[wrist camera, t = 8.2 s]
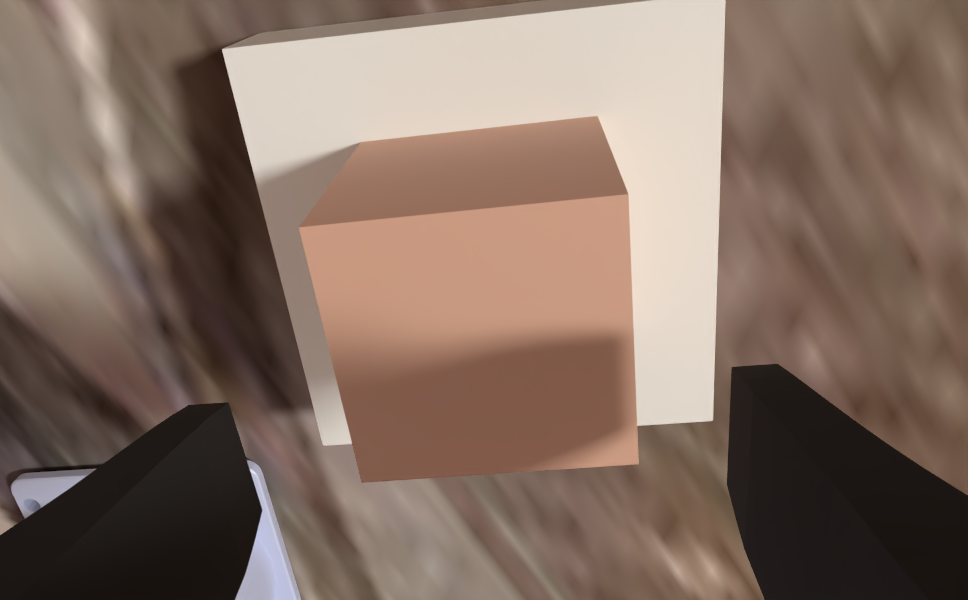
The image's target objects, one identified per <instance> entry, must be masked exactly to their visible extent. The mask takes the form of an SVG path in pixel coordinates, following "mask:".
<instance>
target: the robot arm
mask: <svg viewBox="0 0 968 600" xmlns="http://www.w3.org/2000/svg"><path fill="white" fill-rule="evenodd" d="M727 486H728V490H729V494H730V497H731V501H732V505H733V509H734V513H735V517H736V520H737V524H738V528H739V531H740V535H741V538H742V542H743V546H744V549H745V552H746V554H747V557H748V559H749V562H750V564H751V567H752V569H753V572H754V574H755V577H756V579H757V582H758V584H759V586H760V589H761V591H762V594H763V596H764V599H765V600H968V495H966V494H964V493H963V492H961V491H959V490H958V489H956V488H955V487H953V486H951V485H950V484H948V483H947V482H945V481H943V480H942V479H940V478H939V477H937V476H936V475H934V474H932V473H931V472H929V471H928V470H926V469H924V468H923V467H921V466H920V465H918V464H917V463H915V462H914V461H912V460H911V459H909V458H908V457H906V456H905V455H903V454H902V453H900V452H899V451H897V450H896V449H894V448H893V447H891V446H890V445H888V444H887V443H885V442H884V441H883V440H881V439H880V438H878V437H877V436H875V435H874V434H873V433H871V432H870V431H868V430H867V429H866V428H864V427H863V426H861V425H860V424H859V423H857V422H856V421H854V420H853V419H852V418H850V417H849V416H848V415H846V414H845V413H843V412H842V411H841V410H839V409H838V408H837V407H835V406H834V405H833V404H831V403H830V402H829V401H827V400H826V399H825V398H823V397H822V396H821V395H819V394H818V393H817V392H815V391H814V390H813V389H811V388H810V387H809V386H807V385H806V384H805V383H803V382H802V381H801V380H799V379H798V378H797V377H795V376H794V375H793V374H791V373H790V372H788V371H787V370H786V369H784V368H783V367H781V366H780V365H778V364H769V365H755V366H741V367H732V374H731V399H730V423H729V448H728V472H727ZM11 492H12V494H13V496H14V498H15V500H16V502H17V504H18V506H19V508H20V510H21V512H22V514H23V516H24V518H25V519H24V520H22V521H21V522H19V523H18V524H16V525H15V526H13V527H12V528H10V529H9V530H7V531H6V532H5V533H3V534H2V535H0V600H301V597H300V594H299V591H298V588H297V584H296V581H295V578H294V574H293V571H292V568H291V565H290V561H289V558H288V555H287V552H286V548H285V545H284V542H283V539H282V535H281V532H280V529H279V526H278V522H277V519H276V516H275V512H274V509H273V506H272V503H271V499H270V496H269V493H268V490H267V486H266V483H265V480H264V477H263V473H262V471H261V469H260V467H259V466H258V465H257V464H256V463H254V462H252V461H249V460H247V459H246V456H245V453H244V450H243V447H242V444H241V440H240V437H239V434H238V431H237V428H236V425H235V421H234V418H233V415H232V412H231V409H230V406H229V403H213V404H199V405H188V406H187V407H185V408H183V409H182V410H180V411H178V412H177V413H175V414H173V415H172V416H170V417H169V418H167V419H166V420H164V421H163V422H161V423H160V424H158V425H157V426H156V427H154V428H153V429H151V430H150V431H148V432H147V433H146V434H144V435H143V436H141V437H140V438H139V439H137V440H136V441H134V442H133V443H132V444H130V445H129V446H128V447H126V448H125V449H123V450H122V451H121V452H119V453H118V454H117V455H115V456H114V457H112V458H111V459H110V460H108V461H107V462H105V463H104V464H103V465H101V466H100V467H98V468H97V469H82V470H66V471H50V472H34V473H24V474H21V475H20V476H19V477H17V478H16V480H15V481H14V482H13V483H12V485H11ZM33 499H34V500H35V501H34V500H33ZM36 501H37V502H36Z"/></svg>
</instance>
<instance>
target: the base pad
mask: <svg viewBox="0 0 968 600" xmlns="http://www.w3.org/2000/svg"><path fill="white" fill-rule="evenodd" d="M724 29H725V0H542V1H534V2H525V3H516V4H507V5H499V6H490V7H481V8H473V9H464V10H455V11H446V12H438V13H429V14H420V15H411V16H403V17H394V18H385V19H377V20H368V21H359V22H350V23H342V24H333V25H324V26H316V27H307V28H298V29H289V30H281V31H272V32H263V33H259V34H256V35H254V36H251V37H249V38H247V39H244V40H242V41H240V42H237V43H235V44H233V45H230V46H228V47H225V48H223V49H222V52H223V56H224V60H225V64H226V68H227V71H228V75H229V79H230V83H231V87H232V91H233V95H234V99H235V103H236V107H237V111H238V114H239V118H240V122H241V126H242V130H243V134H244V138H245V142H246V146H247V150H248V154H249V158H250V161H251V165H252V169H253V173H254V177H255V181H256V185H257V189H258V193H259V197H260V201H261V204H262V208H263V212H264V216H265V220H266V224H267V228H268V232H269V236H270V240H271V244H272V248H273V251H274V255H275V259H276V263H277V267H278V271H279V275H280V279H281V283H282V287H283V291H284V294H285V298H286V302H287V306H288V310H289V314H290V318H291V322H292V326H293V330H294V334H295V337H296V341H297V345H298V349H299V353H300V357H301V361H302V365H303V369H304V373H305V377H306V381H307V384H308V388H309V392H310V396H311V400H312V404H313V408H314V412H315V416H316V420H317V424H318V427H319V431H320V435H321V439H322V443H323V446H325V445H340V444H352V441H351V437H350V433H349V429H348V425H347V421H346V417H345V413H344V409H343V405H342V401H341V397H340V393H339V389H338V385H337V380H336V376H335V372H334V368H333V364H332V360H331V356H330V352H329V348H328V344H327V340H326V336H325V332H324V328H323V324H322V320H321V316H320V312H319V307H318V303H317V299H316V295H315V291H314V287H313V283H312V279H311V275H310V271H309V267H308V263H307V259H306V255H305V251H304V247H303V243H302V239H301V235H300V230H299V226H300V225H301V224H302V222H303V221H304V219H305V218H306V217H307V215H308V214H309V213H310V211H311V210H312V208H313V207H314V206H315V204H316V203H317V202H318V200H319V199H320V197H321V196H322V195H323V193H324V192H325V191H326V189H327V188H328V187H329V185H330V184H331V182H332V181H333V180H334V178H335V177H336V176H337V174H338V173H339V171H340V170H341V169H342V167H343V166H344V165H345V163H346V162H347V160H348V159H349V158H350V156H351V155H352V154H353V152H354V151H355V150H356V148H357V147H358V145H359V144H360V143H361V142H366V141H375V140H384V139H393V138H402V137H411V136H420V135H429V134H438V133H447V132H456V131H465V130H474V129H483V128H492V127H501V126H510V125H519V124H528V123H537V122H546V121H555V120H565V119H574V118H583V117H592V116H598V118H599V121H600V123H601V126H602V128H603V131H604V133H605V136H606V138H607V141H608V144H609V146H610V149H611V151H612V154H613V156H614V159H615V161H616V164H617V166H618V169H619V171H620V174H621V176H622V179H623V182H624V184H625V187H626V189H627V192H628V195H629V221H630V248H631V274H632V301H633V328H634V354H635V381H636V407H637V426H640V425H656V424H672V423H687V422H703V421H713V398H714V365H715V331H716V297H717V264H718V230H719V197H720V163H721V130H722V96H723V63H724Z"/></svg>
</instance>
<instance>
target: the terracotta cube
mask: <svg viewBox="0 0 968 600" xmlns="http://www.w3.org/2000/svg"><path fill="white" fill-rule="evenodd" d="M299 230H300V235H301V239H302V243H303V247H304V251H305V255H306V259H307V263H308V267H309V271H310V275H311V279H312V283H313V287H314V291H315V295H316V299H317V303H318V307H319V312H320V316H321V320H322V324H323V328H324V332H325V336H326V340H327V344H328V348H329V352H330V356H331V360H332V364H333V368H334V372H335V376H336V380H337V385H338V389H339V393H340V397H341V401H342V405H343V409H344V413H345V417H346V421H347V425H348V429H349V433H350V437H351V441H352V445H353V449H354V453H355V457H356V462H357V466H358V470H359V474H360V478H361V482H362V483H363V482H378V481H393V480H407V479H422V478H437V477H452V476H467V475H482V474H497V473H512V472H527V471H542V470H557V469H572V468H587V467H602V466H616V465H631V464H639V461H638V434H637V407H636V381H635V354H634V328H633V301H632V274H631V248H630V221H629V195H628V192H627V189H626V187H625V184H624V182H623V179H622V176H621V174H620V171H619V169H618V166H617V164H616V161H615V159H614V156H613V154H612V151H611V149H610V146H609V144H608V141H607V138H606V136H605V133H604V131H603V128H602V126H601V123H600V121H599V118H598V116H592V117H583V118H574V119H565V120H555V121H546V122H537V123H528V124H519V125H510V126H501V127H492V128H483V129H474V130H465V131H456V132H447V133H438V134H429V135H420V136H411V137H402V138H393V139H384V140H375V141H366V142H361V143H360V144H359V145H358V147H357V148H356V150H355V151H354V152H353V154H352V155H351V156H350V158H349V159H348V160H347V162H346V163H345V165H344V166H343V167H342V169H341V170H340V171H339V173H338V174H337V176H336V177H335V178H334V180H333V181H332V182H331V184H330V185H329V187H328V188H327V189H326V191H325V192H324V193H323V195H322V196H321V197H320V199H319V200H318V202H317V203H316V204H315V206H314V207H313V208H312V210H311V211H310V213H309V214H308V215H307V217H306V218H305V219H304V221H303V222H302V224H301V225H300V226H299Z"/></svg>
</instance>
